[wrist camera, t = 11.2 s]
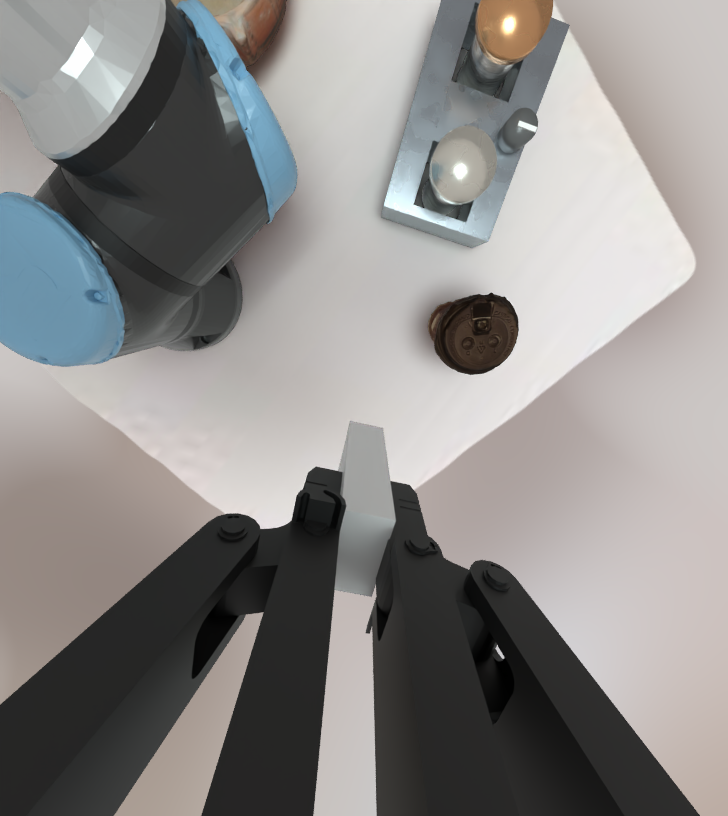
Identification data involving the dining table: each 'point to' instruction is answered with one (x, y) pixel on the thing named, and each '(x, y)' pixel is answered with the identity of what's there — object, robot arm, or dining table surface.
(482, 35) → the orange light bulb
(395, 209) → the mount
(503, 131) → the knob
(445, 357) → the coffee cup
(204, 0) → the bowl
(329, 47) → the dining table surface
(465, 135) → the white light bulb
